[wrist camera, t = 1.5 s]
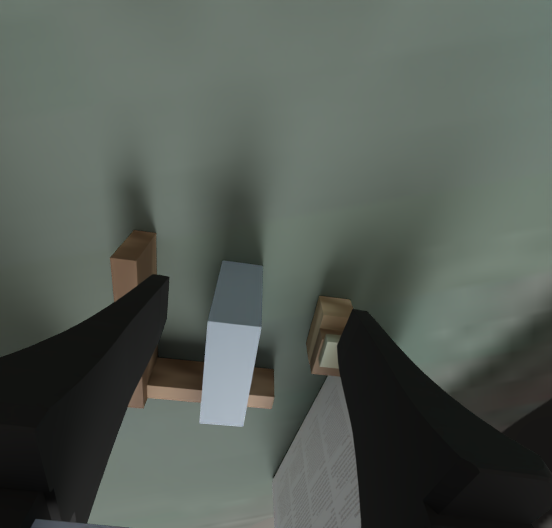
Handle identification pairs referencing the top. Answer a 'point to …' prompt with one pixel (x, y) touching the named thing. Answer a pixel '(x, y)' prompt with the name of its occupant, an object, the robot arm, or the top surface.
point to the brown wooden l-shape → (160, 371)
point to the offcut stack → (327, 334)
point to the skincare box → (320, 468)
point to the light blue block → (231, 343)
